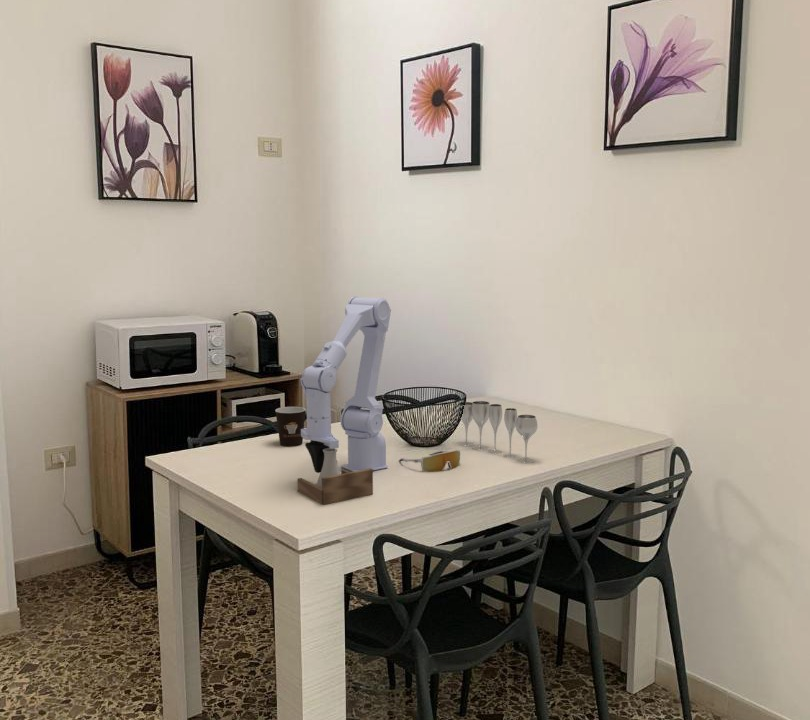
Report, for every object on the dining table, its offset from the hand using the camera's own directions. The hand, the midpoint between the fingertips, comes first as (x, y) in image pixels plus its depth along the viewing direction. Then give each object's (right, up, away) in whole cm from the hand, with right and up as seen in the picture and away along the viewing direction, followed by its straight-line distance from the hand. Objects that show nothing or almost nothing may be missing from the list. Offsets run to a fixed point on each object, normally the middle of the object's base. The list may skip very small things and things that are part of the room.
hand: (319, 471), depth 199 cm
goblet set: (+46, +1, +30) cm, 55 cm away
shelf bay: (+4, -4, -5) cm, 8 cm away
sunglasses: (+27, -1, +19) cm, 33 cm away
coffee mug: (-11, +2, +39) cm, 41 cm away
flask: (+3, -4, -3) cm, 6 cm away
